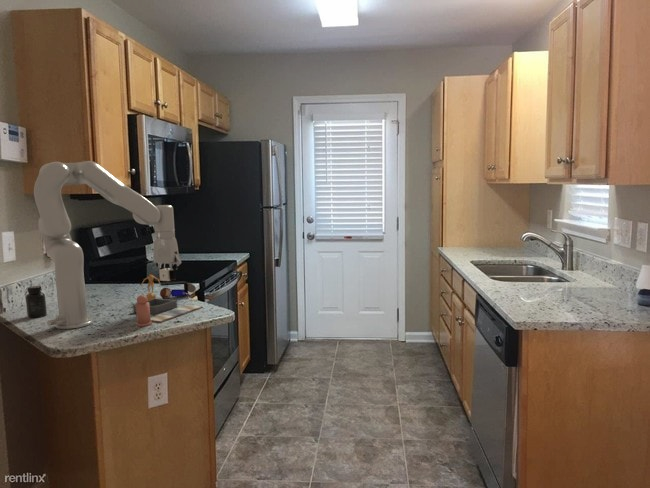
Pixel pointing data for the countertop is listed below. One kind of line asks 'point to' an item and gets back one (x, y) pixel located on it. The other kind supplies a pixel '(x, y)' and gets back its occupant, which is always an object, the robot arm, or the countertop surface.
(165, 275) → the die
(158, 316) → the track
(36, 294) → the supplement bottle
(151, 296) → the figurine
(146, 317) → the pink cylinder
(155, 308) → the tray
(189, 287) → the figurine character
